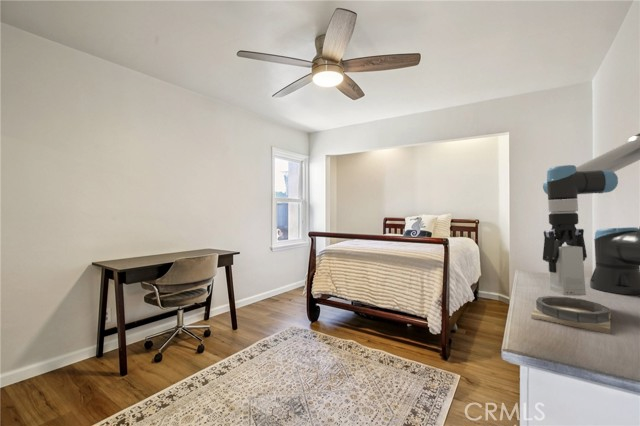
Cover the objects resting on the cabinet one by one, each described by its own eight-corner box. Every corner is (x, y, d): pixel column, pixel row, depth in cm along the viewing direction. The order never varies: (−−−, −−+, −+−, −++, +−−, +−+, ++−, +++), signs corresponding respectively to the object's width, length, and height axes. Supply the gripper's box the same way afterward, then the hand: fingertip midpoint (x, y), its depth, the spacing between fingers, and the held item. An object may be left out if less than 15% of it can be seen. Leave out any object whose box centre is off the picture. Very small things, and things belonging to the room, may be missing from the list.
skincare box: (586, 296, 92) (584, 247, 92) (562, 295, 93) (561, 247, 93) (568, 289, 100) (567, 244, 100) (547, 288, 101) (545, 244, 101)
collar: (541, 304, 94) (540, 293, 94) (610, 316, 83) (610, 303, 83) (531, 318, 83) (531, 305, 83) (610, 333, 72) (609, 318, 72)
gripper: (575, 211, 102) (578, 275, 102) (526, 214, 98) (529, 281, 98) (600, 211, 95) (603, 280, 95) (548, 213, 90) (551, 286, 90)
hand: (565, 280), depth 96 cm, fingers closed on skincare box, 8 cm apart
